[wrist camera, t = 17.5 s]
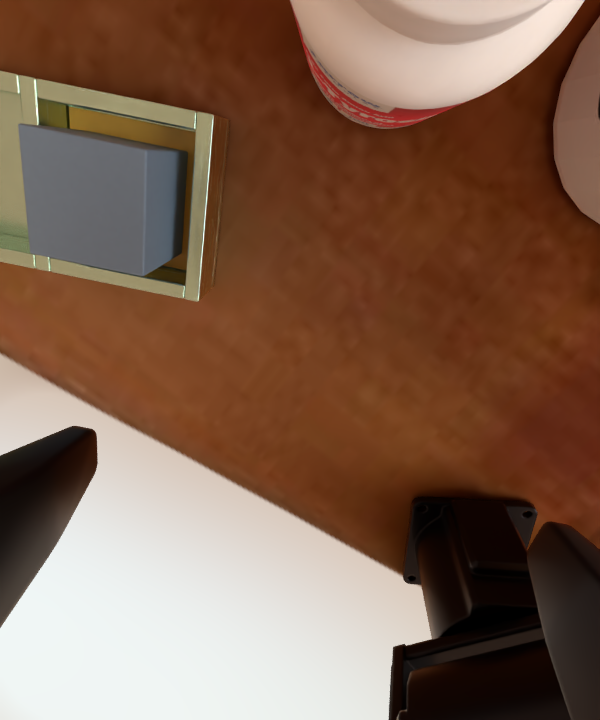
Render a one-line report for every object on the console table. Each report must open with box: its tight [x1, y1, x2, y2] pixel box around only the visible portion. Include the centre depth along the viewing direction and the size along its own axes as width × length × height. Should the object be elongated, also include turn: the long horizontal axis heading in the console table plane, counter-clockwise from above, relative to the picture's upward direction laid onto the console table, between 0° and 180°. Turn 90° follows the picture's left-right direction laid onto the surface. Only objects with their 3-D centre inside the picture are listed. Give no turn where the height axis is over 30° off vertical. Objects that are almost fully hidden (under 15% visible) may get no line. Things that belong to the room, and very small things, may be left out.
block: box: [18, 123, 188, 276], centre depth 15 cm, size 4×4×4 cm
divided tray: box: [0, 70, 230, 302], centre depth 17 cm, size 13×7×2 cm, turn 80°
